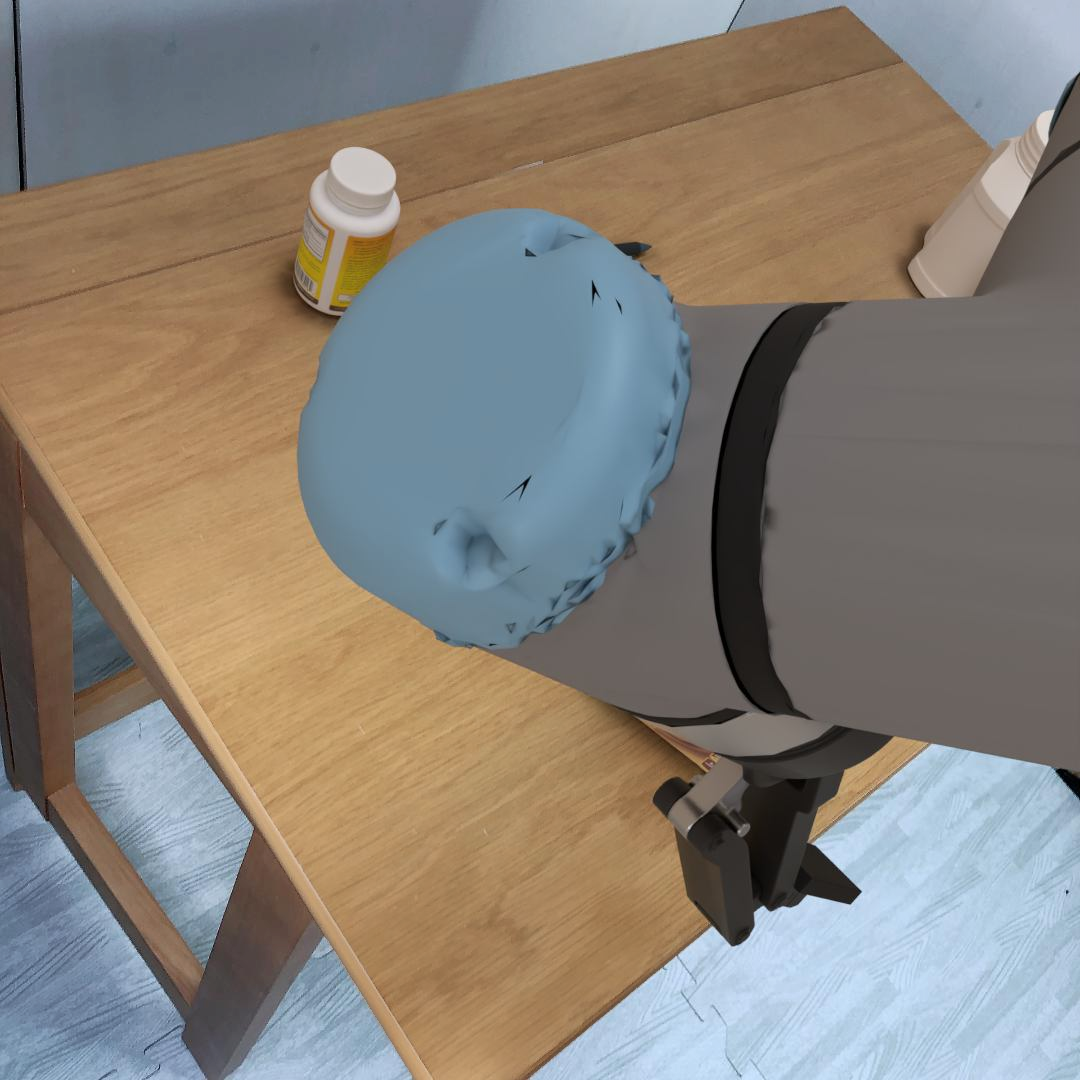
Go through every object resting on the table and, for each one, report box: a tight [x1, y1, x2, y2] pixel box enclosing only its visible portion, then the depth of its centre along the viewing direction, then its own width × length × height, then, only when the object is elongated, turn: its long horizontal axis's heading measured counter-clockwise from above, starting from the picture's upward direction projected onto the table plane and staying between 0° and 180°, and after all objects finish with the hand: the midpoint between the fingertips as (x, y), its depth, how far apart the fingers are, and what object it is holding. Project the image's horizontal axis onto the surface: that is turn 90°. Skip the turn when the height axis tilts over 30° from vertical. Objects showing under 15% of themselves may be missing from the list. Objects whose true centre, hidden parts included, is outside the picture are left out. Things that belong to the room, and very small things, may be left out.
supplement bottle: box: [292, 146, 402, 317], centre depth 72 cm, size 6×6×10 cm
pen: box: [613, 241, 653, 257], centre depth 85 cm, size 1×16×1 cm, turn 117°
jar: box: [907, 109, 1055, 298], centre depth 94 cm, size 12×10×15 cm
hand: (940, 755), depth 48 cm, fingers open, 13 cm apart
